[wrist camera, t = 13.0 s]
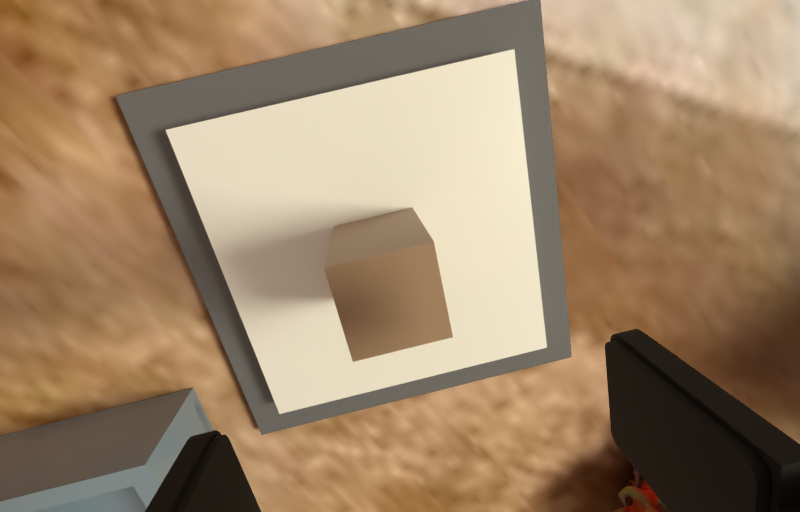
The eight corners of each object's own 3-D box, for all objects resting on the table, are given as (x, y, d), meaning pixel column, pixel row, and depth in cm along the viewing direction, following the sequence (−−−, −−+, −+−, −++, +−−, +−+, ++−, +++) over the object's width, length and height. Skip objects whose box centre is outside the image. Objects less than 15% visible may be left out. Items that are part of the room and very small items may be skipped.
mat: (534, 1, 19) (540, -3, 18) (566, 351, 26) (571, 357, 25) (122, 97, 19) (115, 95, 18) (263, 427, 25) (261, 434, 25)
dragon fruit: (576, 503, 32) (666, 387, 32) (680, 593, 29) (783, 466, 29) (589, 562, 24) (710, 407, 24) (734, 693, 21) (877, 520, 21)
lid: (505, 53, 19) (586, 14, 12) (538, 337, 24) (607, 419, 18) (177, 129, 19) (73, 133, 12) (283, 400, 24) (253, 510, 17)
